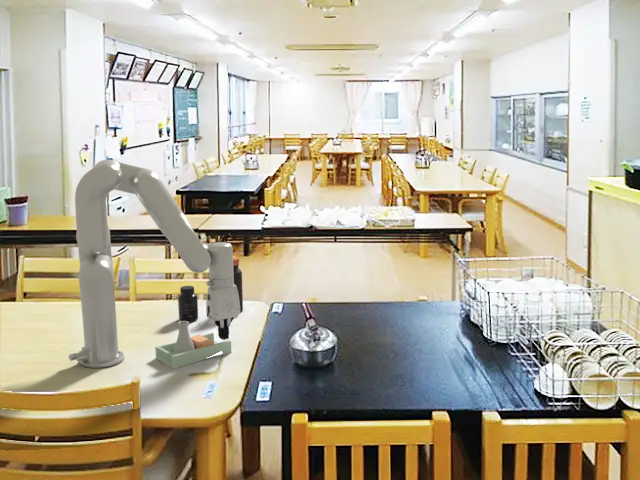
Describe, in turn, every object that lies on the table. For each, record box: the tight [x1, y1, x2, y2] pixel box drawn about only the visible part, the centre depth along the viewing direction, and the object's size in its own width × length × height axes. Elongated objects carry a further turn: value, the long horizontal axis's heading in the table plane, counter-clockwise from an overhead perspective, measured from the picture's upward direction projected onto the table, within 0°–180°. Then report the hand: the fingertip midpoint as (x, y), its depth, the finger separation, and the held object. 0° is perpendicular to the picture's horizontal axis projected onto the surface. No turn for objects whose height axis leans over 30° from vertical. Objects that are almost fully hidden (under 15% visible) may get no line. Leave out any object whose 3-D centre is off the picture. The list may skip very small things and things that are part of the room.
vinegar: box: [233, 256, 244, 313], centre depth 253 cm, size 7×7×20 cm
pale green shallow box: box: [155, 332, 232, 369], centre depth 210 cm, size 20×11×4 cm, turn 131°
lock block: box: [190, 334, 215, 349], centre depth 211 cm, size 4×8×3 cm, turn 41°
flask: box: [173, 320, 195, 355], centre depth 207 cm, size 7×7×10 cm
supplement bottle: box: [177, 285, 199, 323], centre depth 244 cm, size 7×7×12 cm
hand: (223, 338), depth 216 cm, fingers closed
